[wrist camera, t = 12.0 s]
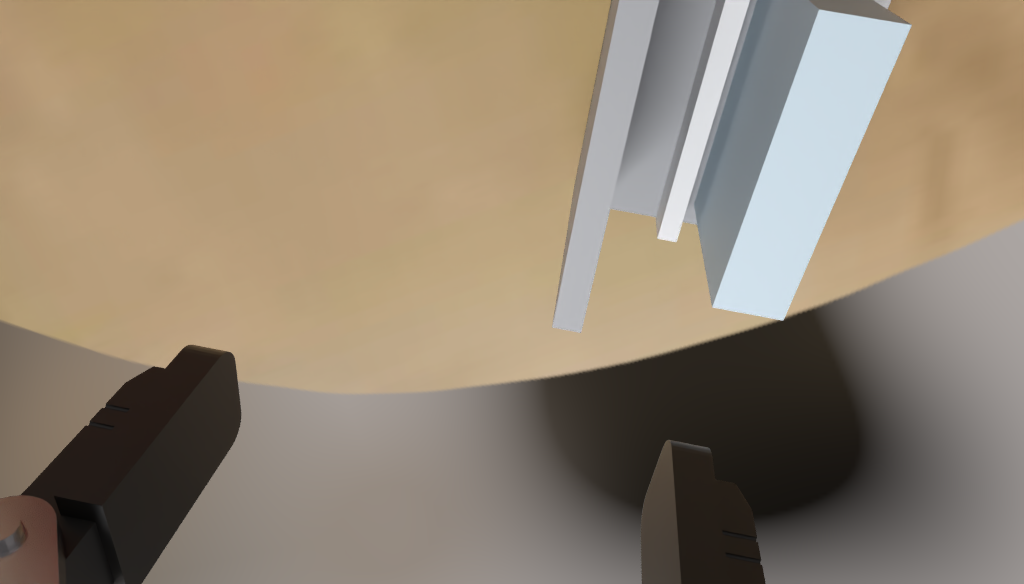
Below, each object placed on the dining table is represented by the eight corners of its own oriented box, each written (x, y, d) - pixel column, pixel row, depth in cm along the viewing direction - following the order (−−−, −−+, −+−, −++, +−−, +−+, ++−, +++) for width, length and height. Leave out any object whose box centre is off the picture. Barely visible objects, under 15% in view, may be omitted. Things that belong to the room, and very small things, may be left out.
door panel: (768, -36, 31) (819, 9, 23) (835, -25, 31) (911, 24, 23) (693, 204, 38) (712, 307, 29) (748, 214, 38) (783, 320, 29)
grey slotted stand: (633, -109, 32) (636, -82, 20) (896, -67, 31) (1054, -13, 20) (574, 186, 40) (552, 327, 29) (781, 224, 40) (844, 383, 28)
